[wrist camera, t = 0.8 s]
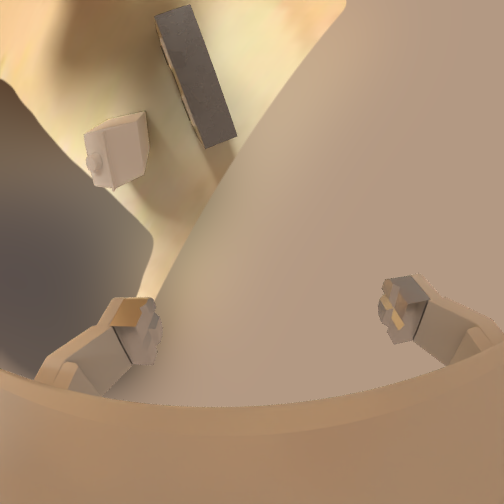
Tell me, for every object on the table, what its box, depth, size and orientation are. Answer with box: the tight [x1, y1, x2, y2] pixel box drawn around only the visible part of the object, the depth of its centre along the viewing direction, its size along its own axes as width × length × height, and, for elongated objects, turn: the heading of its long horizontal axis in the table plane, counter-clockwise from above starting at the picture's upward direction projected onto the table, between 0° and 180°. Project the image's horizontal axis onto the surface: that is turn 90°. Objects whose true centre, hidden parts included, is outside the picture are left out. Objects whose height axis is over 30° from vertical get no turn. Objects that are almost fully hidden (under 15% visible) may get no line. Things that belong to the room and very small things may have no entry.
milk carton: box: [84, 111, 150, 192], centre depth 33 cm, size 7×7×19 cm
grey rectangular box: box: [154, 5, 237, 149], centre depth 34 cm, size 22×6×10 cm, turn 17°
